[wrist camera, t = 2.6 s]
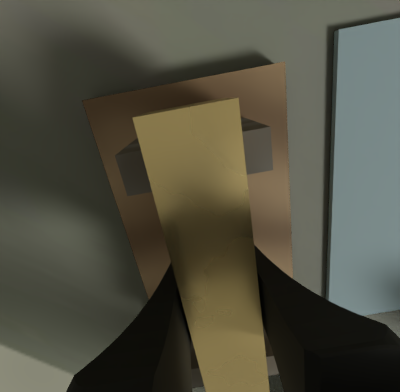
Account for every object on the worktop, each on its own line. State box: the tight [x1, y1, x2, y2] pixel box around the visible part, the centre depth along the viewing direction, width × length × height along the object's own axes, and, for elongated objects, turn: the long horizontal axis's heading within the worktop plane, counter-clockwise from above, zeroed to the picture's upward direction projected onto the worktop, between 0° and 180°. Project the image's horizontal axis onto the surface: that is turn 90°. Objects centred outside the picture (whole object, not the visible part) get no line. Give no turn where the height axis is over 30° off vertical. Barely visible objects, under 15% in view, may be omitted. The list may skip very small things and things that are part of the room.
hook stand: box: [82, 62, 293, 388], centre depth 14 cm, size 18×10×6 cm, turn 10°
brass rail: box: [133, 98, 270, 392], centre depth 11 cm, size 16×3×3 cm, turn 10°
